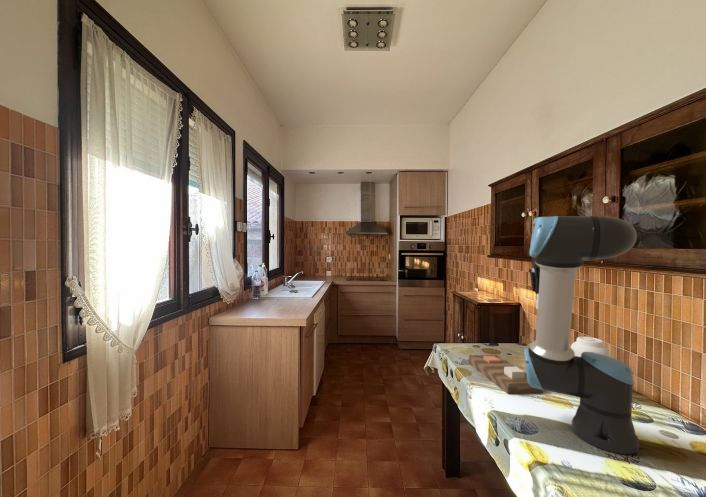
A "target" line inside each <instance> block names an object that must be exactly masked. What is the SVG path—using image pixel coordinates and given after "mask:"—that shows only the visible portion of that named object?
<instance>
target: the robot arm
mask: <svg viewBox="0 0 706 497" xmlns="http://www.w3.org/2000/svg"><path fill="white" fill-rule="evenodd" d="M532 223H533V224H532V234H531V239H530V247H529V256H530V257H531V263H533V266H532V267H533V268H529V269H528V272H529V274H530V282H531V289H532V292H535V294H536V295H535V301H536V303H535V304H536V305H535V309H536V310H537V312H536V313H537V314H536V330H535V333H536V334H535V340H533V341H531V342H530V344H529V348H527V347H526V348H524V349H523V352H524V362H525V372H526V374H527V382H528V384H529V385H530V386H531V387H533V388H537V389H541V390H543V392H551V393H556V394H561V395H566V396H570V397H575V398H576V397H577V398H579V405H578V407H577V409H576V410H575V414H574V416H573V417H572V420H571V429H572V431H573V433H574V434H575V436H577V437H579V438H580V439H581V440H583V441H584V442H586V443H588V444H589V445H592V446H594V447H596V448H599V449H601V450H603V451H607V452H610V453H615V454H620V455H635V454H636V453H638V452H639V451H640V450H639V449H640V439H639V438H638V436H637V434H636V429H635V426H634V423H633V419H632V409H633V408H632V407H633V389H634V388H633V386H634V383H635V382H634V376H633V370H632V368H631V367H630V366H629V365H628V364H627V363H625V362H623V361H621V360H620V359H617V358H615V357H611V356H610V357H609V356H606V355H602V354H598V353H594V352H583V353H582V354H581V357H578V356H575V353H574V351H573V350H572V349H571V348H570V347H571V346H570V340H571V339H570V338H571V331H572V330H571V328H572V318H573V308H574V307H573V306H574V295H575V283H576V272H577V271H578V270H579V269H581V268H582V267H583V266H584V260H603V259H604V260H606V259H612V258H615V257H619V256H621V255H623V254H626V253H627V252H629V251H630V250H631V249H632V248H633V247H634V246H635V244H636V242H637V239H638V237H637V236H638V234H637V231H636V229H635V227H634V226H633V225H632V224H631V223H629V222H628V221H626V220H624V219H621V218H618V217H612V216H605V215H597V216H596V215H593V216H589V215H586V216H577V215H576V216H575V215H574V216H572V215H571V216H567V215H565V216H558V215H554V216H539V217H535V218H534V219H533V222H532Z"/></svg>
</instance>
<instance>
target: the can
mask: <svg viewBox="0 0 706 497" xmlns="http://www.w3.org/2000/svg"><path fill="white" fill-rule="evenodd" d="M575 340H576V341H574V342H572V343H571V345H570V346H569V347H570V348H571V349H572V350H573V351H574V353H575V356H578V357H581V354H582V353H583V352H594V353H598V354H602V355H606V356H609V357H611V353H610V350H609V349H608V348H607V347H606V346H605V343H604V341H603V340H601V339H598V338H595V337H591V336H585V335H584V336H581V335H580V336H577V338H576V339H575Z"/></svg>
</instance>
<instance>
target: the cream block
mask: <svg viewBox="0 0 706 497" xmlns="http://www.w3.org/2000/svg"><path fill="white" fill-rule="evenodd" d="M525 372H526V371H524V370H523V369H521V368H519V367H517V366H516V367H504V374H506V375H507V376H508V377H510V378H511V379H524V377H525Z"/></svg>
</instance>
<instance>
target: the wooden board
mask: <svg viewBox="0 0 706 497" xmlns="http://www.w3.org/2000/svg"><path fill="white" fill-rule="evenodd" d="M483 356H494V357H496V358H498V359H499V360H500V363H488V362H486V361H485V360H484V359H483ZM468 365H470V366H471V367H473V368H474V369H475V370H476V371H478V372H479V373H480V374H481V375H483V376H484V377H485V378H486V379H488V380H489V381H491V383H493V384H494V385H496V387H498V388H500V389H501V390H502V391H503V392H505V393H506V394H507V395H527V394H528V395H529V394H532V395H533V394H539V395H540V394H543V393H544V391H543V390H541V389H537V388H533V387H531V386H530V385H529V384H528V382H527V374H526V371H524V372H525V377H524V379H511V378H510V377H508V376H507V375H506V374H504V367H517V366H515V365H514V364H513V363H511V362H509V361H508V360H506V359H504V358H502V357H501V356H500V355H497V354H496V355H495V354H486V355H485V354H480V355H479V354H474V355H472V354H471V355H468Z"/></svg>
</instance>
